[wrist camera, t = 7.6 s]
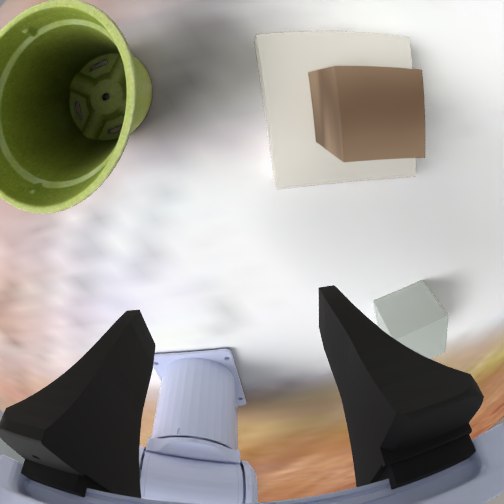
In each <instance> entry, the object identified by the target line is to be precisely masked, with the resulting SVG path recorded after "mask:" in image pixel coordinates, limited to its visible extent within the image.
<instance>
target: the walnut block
mask: <svg viewBox="0 0 504 504" xmlns="http://www.w3.org/2000/svg"><path fill="white" fill-rule="evenodd" d="M308 77H309V84H310V92H311V100H312V109H313V118H314V128H315V138H316V142H317V143H318V144H320V145H321V146H322V147H324V148H325V149H326V150H328V151H329V152H330V153H332V154H333V155H334V156H336V157H337V158H338V159H340V160H341V161H342V162H355V161H368V160H383V159H401V158H425V108H424V90H423V77H422V70H419V69H409V68H396V67H379V66H332V67H328V68H324V69H319V70H315V71H311V72H308Z"/></svg>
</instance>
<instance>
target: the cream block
mask: <svg viewBox="0 0 504 504" xmlns="http://www.w3.org/2000/svg"><path fill="white" fill-rule="evenodd" d="M254 43H255V49H256V56H257V62H258V69H259V76H260V83H261V90H262V97H263V104H264V111H265V118H266V126H267V133H268V141H269V149H270V157H271V165H272V173H273V179H274V182H275V184H276V187H277V190H279V189H287V188H295V187H303V186H312V185H321V184H331V183H340V182H351V181H362V180H374V179H386V178H400V177H415V175H416V158H401V159H383V160H368V161H355V162H342V161H341V160H340V159H338V158H337V157H336V156H334V155H333V154H332V153H330V152H329V151H328V150H326V149H325V148H324V147H322V146H321V145H320V144H318V143H317V142H316V138H315V128H314V118H313V109H312V100H311V92H310V84H309V77H308V72H311V71H315V70H319V69H324V68H328V67H332V66H379V67H396V68H409V69H413V66H412V57H411V48H410V41H409V37H405V36H397V35H388V34H378V33H365V32H347V31H300V32H281V33H268V34H257V35H256V38H255V41H254Z"/></svg>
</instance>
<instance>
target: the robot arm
mask: <svg viewBox="0 0 504 504" xmlns="http://www.w3.org/2000/svg"><path fill="white" fill-rule="evenodd" d="M319 328H320V333H321V338H322V342H323V346H324V350H325V353H326V355H327V358H328V361H329V364H330V367H331V370H332V372H333V375H334V378H335V381H336V384H337V387H338V389H339V392H340V396H341V399H342V403H343V408H344V412H345V417H346V422H347V427H348V432H349V437H350V443H351V449H352V455H353V462H354V469H355V477H356V486H357V487H356V488H352V489H348V490H343V491H338V492H334V493H329V494H323V495H318V496H312V497H305V498H298V499H291V500H282V501H272V502H260V503H257V500H258V484H257V477H256V473H255V471H254V469H253V468H252V467H251V466H250V464H249V463H248V462H247V461H240V450H238V406H243V405H246V398H245V395H244V392H243V388H242V385H241V382H240V379H239V375H238V372H237V369H236V365H235V362H234V358H233V355H232V352H231V350H229V349H218V350H207V351H195V352H182V353H166V354H155V343H154V341H153V339H152V337H151V334H150V332H149V330H148V328H147V326H146V323H145V321H144V319H143V317H142V314H141V312H140V310H132V311H126V312H125V313H124V314H123V315H122V316H121V317H120V318H119V319H118V320H117V321H116V322H115V323H114V324H113V325H112V327H111V328H110V329H109V330H108V331H107V332H106V333H105V334H104V335H103V336H102V337H101V338H100V340H99V341H98V342H97V343H96V344H95V345H94V346H93V347H92V348H91V349H90V350H89V351H88V352H87V353H86V354H85V355H84V356H83V357H82V358H81V359H80V360H79V361H78V362H77V363H76V364H75V365H73V366H72V367H71V368H70V369H69V370H68V371H66V372H65V373H64V374H63V375H61V376H60V377H59V378H57V379H56V380H55V381H53V382H52V383H51V384H49V385H48V386H46V387H45V388H43V389H42V390H40V391H39V392H37V393H35V394H34V395H32V396H30V397H28V398H27V399H25V400H23V401H21V402H18V403H16V404H14V405H12V406H10V407H8V408H6V410H5V412H4V414H3V417H2V419H1V422H0V438H1V439H2V440H3V441H4V442H5V443H6V444H7V445H9V446H10V447H11V448H12V449H13V450H15V451H16V452H17V453H18V454H20V455H21V456H22V457H23V458H25V461H24V464H22V463H21V462H19V461H17V460H15V459H12V458H10V457H7V456H5V455H1V457H0V504H485V503H486V502H488V501H490V500H491V499H493V498H494V497H496V496H498V495H499V494H501V493H502V492H504V424H503V423H501V424H499V425H497V426H495V427H493V428H492V429H490V430H488V431H486V432H484V433H482V434H481V435H479V436H477V437H476V438H474V439H473V440H471V438H470V436H469V434H470V433H471V432H472V429H471V427H470V425H469V421H470V420H471V419H472V417H473V416H474V415H475V413H476V412H477V411H478V409H479V408H480V406H481V404H482V402H483V398H484V396H483V394H482V392H481V391H480V389H479V387H478V385H477V383H476V382H475V380H474V379H473V377H472V376H471V374H468V373H465V372H462V371H459V370H456V369H453V368H450V367H447V366H445V365H442V364H440V363H438V362H435V361H433V360H431V359H429V358H427V357H425V356H423V355H421V354H419V353H417V352H415V351H413V350H412V349H410V348H408V347H406V346H405V345H403V344H401V343H400V342H399V341H397V340H396V339H394V338H393V337H391V336H390V335H388V334H387V333H386V332H384V331H383V330H382V329H380V328H379V327H378V326H377V325H376V324H374V323H373V322H372V321H371V320H370V319H368V318H367V317H366V316H365V315H364V314H363V313H362V312H361V311H360V310H359V309H358V308H356V307H355V306H354V305H353V304H352V303H351V302H350V301H349V300H348V299H347V298H346V297H345V296H344V295H343V294H342V293H341V291H340V290H339V289H338V288H337V287H335V286H334V285H333V286H327V287H321V288H319ZM153 367H154V369H155V370H156V372H157V374H158V376H159V377H160V379H161V381H162V383H161V388H160V393H159V398H158V403H157V409H156V414H155V419H154V425H153V431H152V437H151V438H150V437H149V438H148V441H147V447H142V446H139V444H140V428H141V418H142V412H143V407H144V403H145V398H146V394H147V390H148V386H149V382H150V378H151V373H152V369H153Z"/></svg>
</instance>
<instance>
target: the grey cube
mask: <svg viewBox="0 0 504 504" xmlns="http://www.w3.org/2000/svg"><path fill="white" fill-rule="evenodd" d="M373 303H374V308H375V313H376V318H377V323H378V327H379V328H380V329H382V330H383V331H384V332H386V333H387V334H388V335H390V336H391V337H393V338H394V339H396V340H397V341H399V342H400V343H401V344H403V345H405V346H406V347H408V348H410V349H412V350H413V351H415V352H417V353H419V354H421V355H423V356H425V357H427V358H429V359H431V358H433V357H435V356H437V355H439V354H441V353H443V352H445V349H446V339H447V326H448V314H447V312H446V311H445V310H444V308H443V307H442V305H441V304H440V303H439V301H438V300H437V299H436V297H435V296H434V294H433V293H432V292H431V290H430V289H429V288H428V287H427V285H426V284H425V283H424V281H423V280H420V281H418V282H416V283H414V284H411V285H409V286H407V287H404V288H402V289H400V290H398V291H395V292H393V293H391V294H388V295H386V296H383V297H381V298H379V299H376V300H374V301H373Z"/></svg>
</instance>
